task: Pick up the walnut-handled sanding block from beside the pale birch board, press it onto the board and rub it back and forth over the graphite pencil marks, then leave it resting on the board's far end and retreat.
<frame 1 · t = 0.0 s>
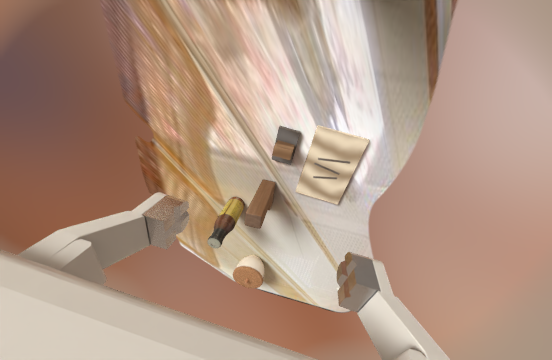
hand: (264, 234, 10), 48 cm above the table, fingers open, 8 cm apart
sauce bottle: (237, 202, 73), on the table
wooden block: (267, 191, 67), on the table
sanding block: (286, 144, 58), on the table
lidded bowl: (254, 259, 87), on the table
birch board: (328, 166, 58), on the table
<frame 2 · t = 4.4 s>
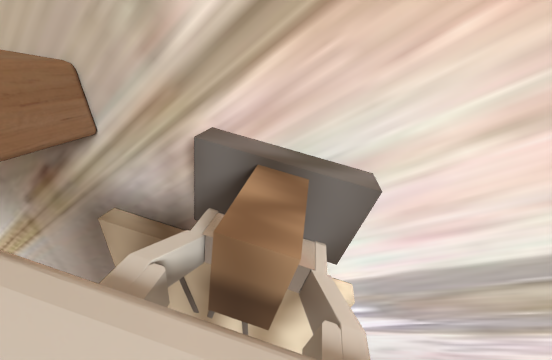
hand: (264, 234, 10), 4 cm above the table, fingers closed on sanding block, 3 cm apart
wooden block: (35, 90, 13), on the table
sanding block: (279, 190, 13), on the table, touching gripper
birch board: (222, 287, 21), on the table
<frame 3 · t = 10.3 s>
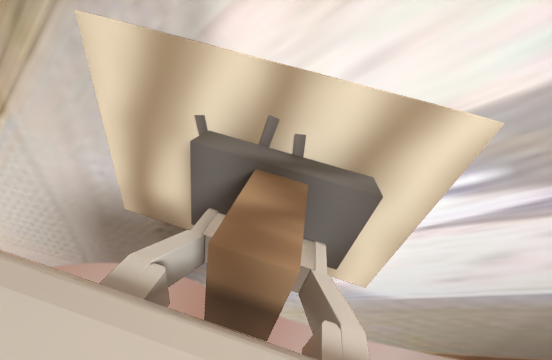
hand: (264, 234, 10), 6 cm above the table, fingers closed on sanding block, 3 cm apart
sanding block: (278, 193, 13), point 2 cm above the table, touching gripper
birch board: (259, 170, 14), on the table
when the fingers open (6 cm above the table, at t = 16.2 s): sanding block stays where it is, resting on birch board.
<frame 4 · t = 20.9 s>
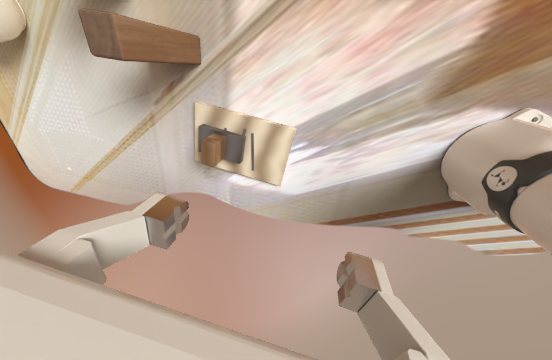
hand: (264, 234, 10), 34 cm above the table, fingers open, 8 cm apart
wooden block: (180, 47, 38), on the table
sanding block: (223, 142, 44), point 2 cm above the table, touching birch board
lidded bowl: (11, 10, 41), on the table
birch board: (242, 144, 45), on the table
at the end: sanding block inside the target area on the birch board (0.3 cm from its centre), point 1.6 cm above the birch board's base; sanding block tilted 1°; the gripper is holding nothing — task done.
